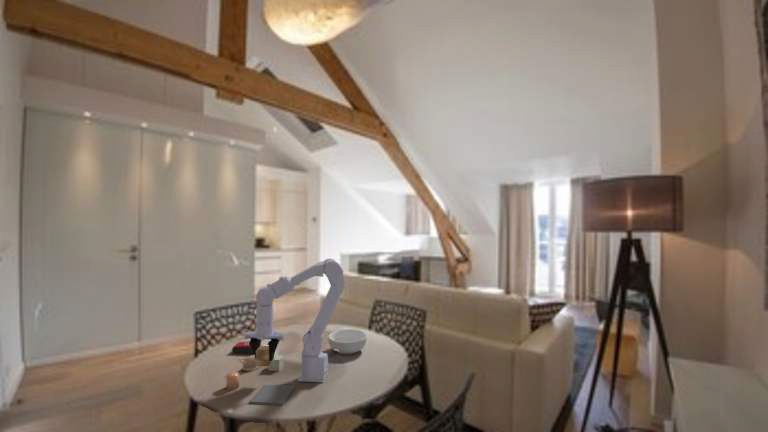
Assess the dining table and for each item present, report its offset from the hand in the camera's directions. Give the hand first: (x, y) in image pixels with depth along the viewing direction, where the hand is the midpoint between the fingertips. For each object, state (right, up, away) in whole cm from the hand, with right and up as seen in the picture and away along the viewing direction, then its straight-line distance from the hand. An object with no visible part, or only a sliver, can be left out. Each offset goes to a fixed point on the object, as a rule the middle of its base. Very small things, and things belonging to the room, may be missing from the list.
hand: (264, 359), depth 123 cm
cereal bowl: (+26, -9, +30) cm, 41 cm away
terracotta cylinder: (-10, -8, -3) cm, 13 cm away
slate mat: (+6, -8, -9) cm, 13 cm away
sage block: (0, -9, +12) cm, 15 cm away
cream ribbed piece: (-10, -9, +11) cm, 17 cm away
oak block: (0, -1, 0) cm, 1 cm away
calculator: (-15, -9, +31) cm, 36 cm away
